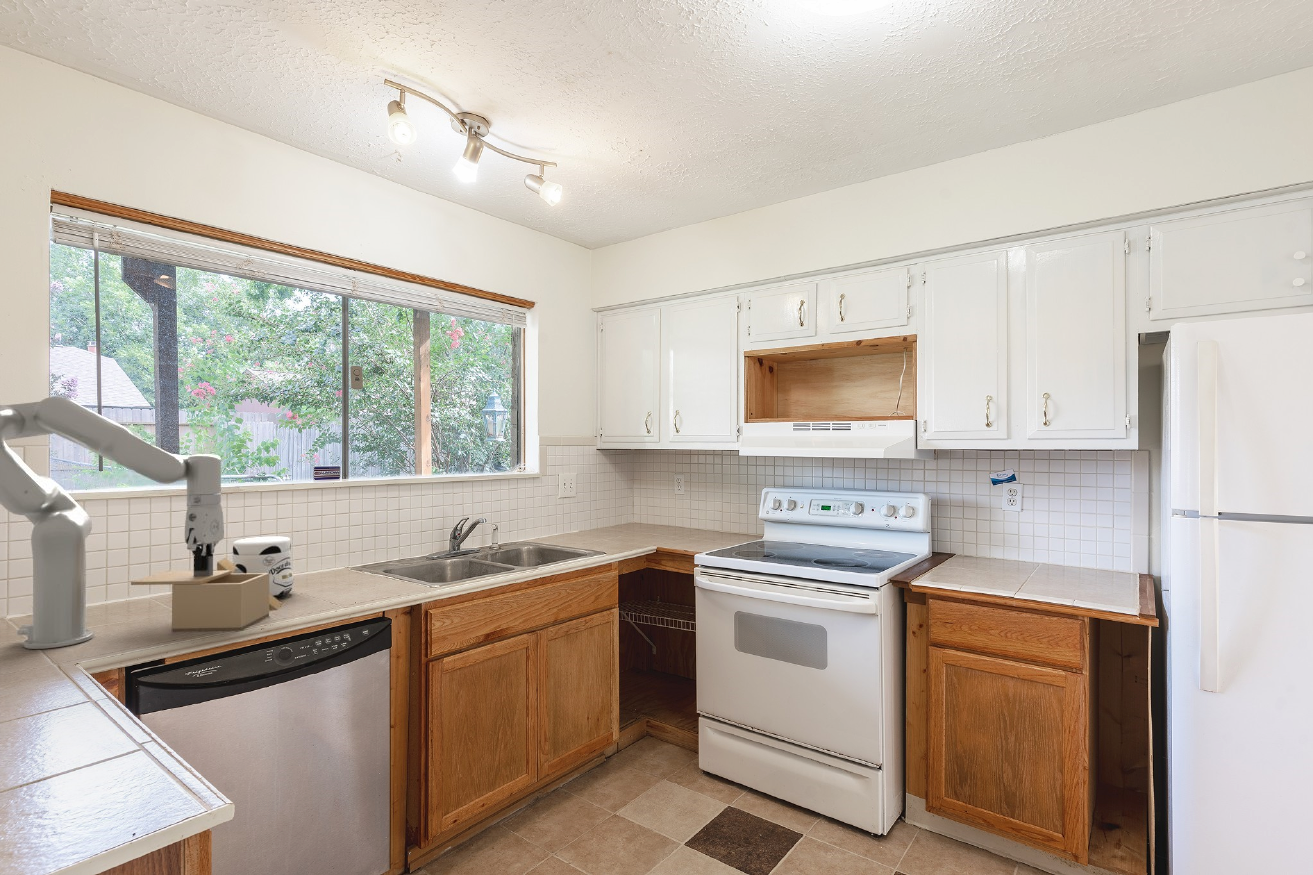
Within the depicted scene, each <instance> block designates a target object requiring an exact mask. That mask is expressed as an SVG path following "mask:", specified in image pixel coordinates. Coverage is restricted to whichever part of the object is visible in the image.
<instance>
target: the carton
mask: <svg viewBox="0 0 1313 875" xmlns="http://www.w3.org/2000/svg"><path fill="white" fill-rule="evenodd" d="M268 617H270V610H269V573H240V574H228V575H225V576H223V577H220V578H217V579H214V580H211V581H208V582H205V583H203V584H171V632H172V633H174V632H181V633H182V632H226V631H227V632H229V631H234V632H235V631H237V632H239V631H240V632H241V631H243V630H245V629H247V628H249V627H251V626H253V625H255V624H256V623H258V622H260V620H261V621H262V620H264V619H266V618H268Z"/></svg>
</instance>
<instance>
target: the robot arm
mask: <svg viewBox="0 0 1313 875" xmlns="http://www.w3.org/2000/svg"><path fill="white" fill-rule="evenodd" d="M51 434H54V435H57V436H59V437H61V438H63V439H66V440H68V441H70V442H72V443H73V444H76V445H79V446H81V447H83V448H84V449H86V450H89V451H91V452H93V453H95V454H97V455H98V456H101V457H102V458H105V459H107V460H110V461H112V462H114V463H116V464H119V465H120V466H123V467H124V468H126V469H129V470H131V471H132V472H135V473H137V474H139V475H140V476H143V477H145V478H147V479H150V480H152V481H154V482H156V483H159V484H161V485H162V484H165V485H170V484H174V483H177V482H182V481H186V513H185V514H186V515H185V519H184V520H185V521H184V542H185V544H186V545H187V546H186V549H187V550H189V551H191V552H192V553H191V554H192V556H193V571H206V570H207V567H208V556H213V557H214V553H215V547H216V546H217V544H219V543H220V542H221V541H223V539H224V538H225V524H224V513H223V508H222V503H221V502H222V496H221V495H222V493H221V492H222V460H221V459H222V458H221V457H220V456H219V455H217V454H193V455H183V454H174V453H170V452H168V451H166V450H163V449H162V448H160V447H158V446H156V445H153V444H152V443H149V442H147V441H145V440H144V439H142V438H140V437H138V436H137V435H136V434H133V433H132V432H131V431H130V430H129V429H128V428H126V427H125V426H123V425H121V424H120V423H117V422H115V421H114V420H111V419H110V418H109V419H108V418H107V417H105V416H102V415H101V414H99V413H97V412H95V411H94V410H90V409H89V408H87V407H85V406H83V405H81V404H79V402H77V401H74V400H73V399H70V398H66V397H64V396H49V397H45V398H44V399H42V400H40V401H35V402H26V403H25V402H24V403H23V402H22V403H15V404H3V405H2V404H0V505H1V506H2V507H3V508H4V509H5V510H6V511H8V512H10V513H12V514H14V515H18V516H23V517H25V518H26V519H27V520H28V521H29V522H30V523H32V524H33V525H34V526H33V528H32V531H31V536H30V544H31V554H32V624H23V625H21V627H20V628H19V629H18V630H17V632H16V634H17V635H18V636H19V635H20V636H22V635H27V639H26V640H24V641H23V647H24V648H25V649H29V650H43V649H45V650H46V649H53V648H60V647H66V646H72V645H75V644H79V643H83V642H86V641H88V640H89V641H90V640H91V639H92V638H94V637H95V636H94V635H95V634H94V633H95V632H94V631H93V630H91V629H86V628H87V627H86V623H87V621H86V618H87V615H86V614H87V612H86V611H87V559H86V558H87V556H86V555H87V554H86V539H87V538H88V537H89V535H90V534H91V531H92V528H93V524H92V520H91V518H90V516H89V514H88V513H87V512H86V511H85V510H84V509H83V508H82V507H81V506H80V504H78V503H77V502H76V501H75V500H74V498H72V497H71V495H69V494H68V492H67V491H66V490H65V489H64V488H63V487H62V486H61V485H60V484H59V483H58V482H57V481H55V480H53V478H51V477H49V476H46V475H41V474H36V473H35V472H34V471H33V470H32V469H31V468H30V466H28V465H27V464H26V463H25V462H24V461H23V460H22V458H21V457H20V456H19V455H18V454H17V453H15V451H13V450H12V449H11V448H10V447H9V446H8V444H7V442H6V441H7V440H9V441H10V440H15V439H23V438H30V437H38V436H46V435H51Z"/></svg>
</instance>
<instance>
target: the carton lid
mask: <svg viewBox="0 0 1313 875" xmlns="http://www.w3.org/2000/svg"><path fill="white" fill-rule="evenodd" d="M231 573H232V570H220V571H217V570H214V555H213V556H208V567H207V570H206V571H194V570H167V571H163V572H159V573H157V574H153V575H151V576H147V577H143V578H139V579H137V580H133V581H130V585H131V586H154V585H155V586H160V585H161V586H164V585H173V584H203V583H205V582H208V581H211V580H214V579H217V578H220V577H223V576H225V575H228V574H231Z"/></svg>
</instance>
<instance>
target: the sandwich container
mask: <svg viewBox="0 0 1313 875" xmlns="http://www.w3.org/2000/svg"><path fill="white" fill-rule="evenodd" d="M220 570H232V573H231V574H240V573H243V572H242V571H241V570H240V569H239V568H237V567H236V566H235V565H234V564H233V562H231V561H230V560H229V559H228V558H227V557H223V558H221V559H219V561H217V562H216V571H220ZM281 604H282V605H283V603H282V602H281V601H280V600H279V599H278V598H277V597H276V598H275V597H273V596H272V595H271V594H270V593H269V611H277V610H279V609H280V606H282V605H281ZM278 608H279V609H278Z"/></svg>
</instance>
